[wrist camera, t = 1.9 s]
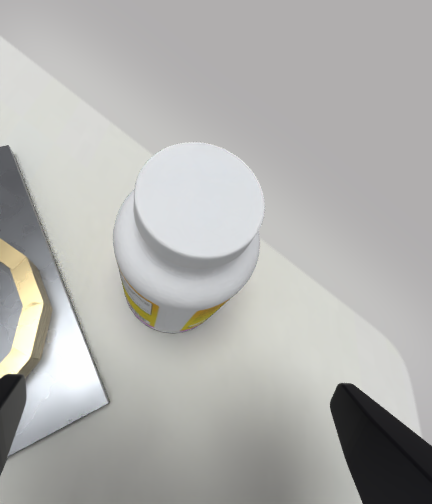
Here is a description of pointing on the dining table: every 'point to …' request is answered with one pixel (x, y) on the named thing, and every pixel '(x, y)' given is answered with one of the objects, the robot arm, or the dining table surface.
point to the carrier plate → (66, 338)
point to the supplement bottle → (188, 235)
